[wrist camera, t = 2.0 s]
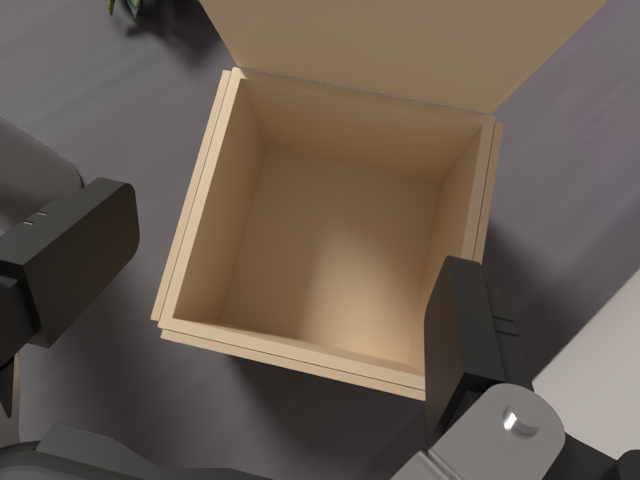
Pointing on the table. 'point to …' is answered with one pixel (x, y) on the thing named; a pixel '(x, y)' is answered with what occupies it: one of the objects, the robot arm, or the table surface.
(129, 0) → the passion flower
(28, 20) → the table surface
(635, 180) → the table surface
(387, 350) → the carton
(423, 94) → the carton flap
